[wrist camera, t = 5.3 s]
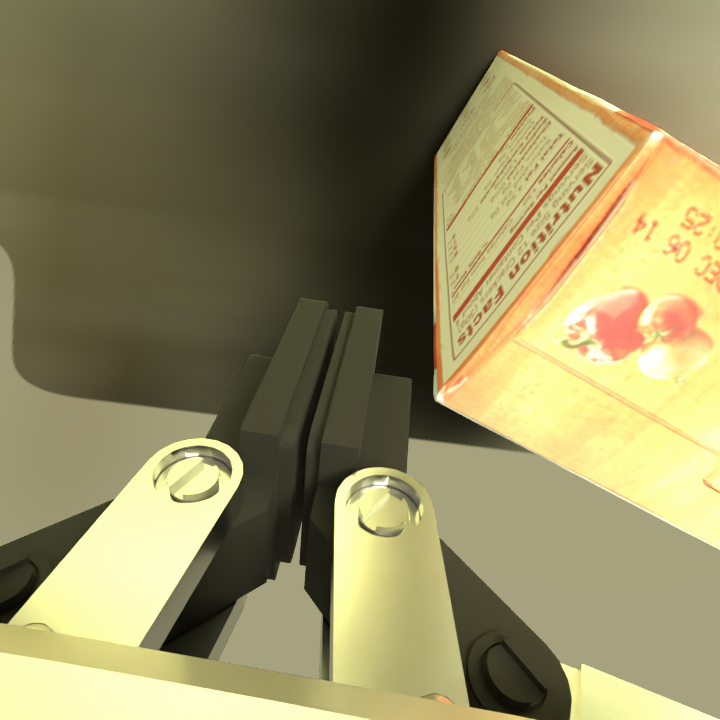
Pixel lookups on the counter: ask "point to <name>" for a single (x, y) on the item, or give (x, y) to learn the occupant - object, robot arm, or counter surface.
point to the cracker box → (582, 291)
